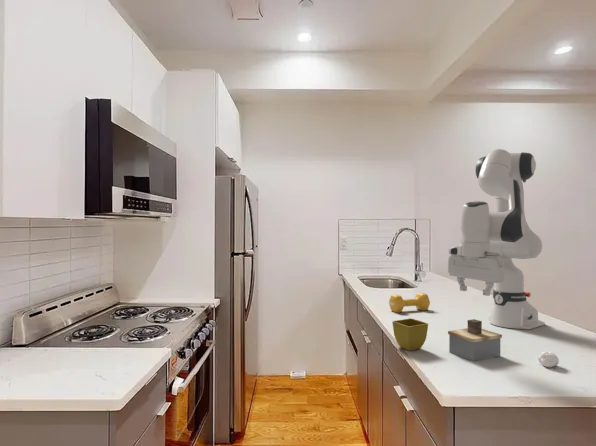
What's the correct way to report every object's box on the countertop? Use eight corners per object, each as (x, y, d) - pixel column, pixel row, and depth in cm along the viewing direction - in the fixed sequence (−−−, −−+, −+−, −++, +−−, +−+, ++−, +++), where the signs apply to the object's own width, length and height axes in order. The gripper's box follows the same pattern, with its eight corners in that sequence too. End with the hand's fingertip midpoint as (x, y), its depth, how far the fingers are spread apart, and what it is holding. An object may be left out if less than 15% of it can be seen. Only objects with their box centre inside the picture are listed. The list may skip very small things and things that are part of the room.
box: (475, 347, 145) (475, 330, 145) (500, 356, 136) (500, 337, 136) (449, 352, 140) (449, 334, 140) (473, 361, 131) (473, 342, 131)
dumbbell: (420, 307, 211) (420, 291, 211) (431, 311, 202) (431, 294, 202) (387, 310, 205) (387, 293, 205) (397, 314, 196) (397, 296, 196)
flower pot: (409, 353, 139) (409, 326, 139) (391, 346, 146) (391, 320, 146) (428, 349, 143) (428, 323, 143) (410, 343, 151) (410, 318, 150)
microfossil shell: (549, 354, 124) (562, 353, 126) (533, 349, 129) (545, 348, 131) (549, 369, 124) (561, 368, 126) (532, 364, 129) (545, 363, 131)
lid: (475, 333, 146) (475, 315, 146) (501, 341, 136) (502, 322, 136) (448, 337, 140) (448, 319, 140) (473, 346, 131) (473, 326, 131)
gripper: (509, 253, 130) (509, 297, 130) (458, 248, 148) (458, 287, 148) (495, 253, 127) (494, 299, 127) (445, 249, 146) (444, 289, 146)
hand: (474, 293), depth 138 cm, fingers open, 8 cm apart
